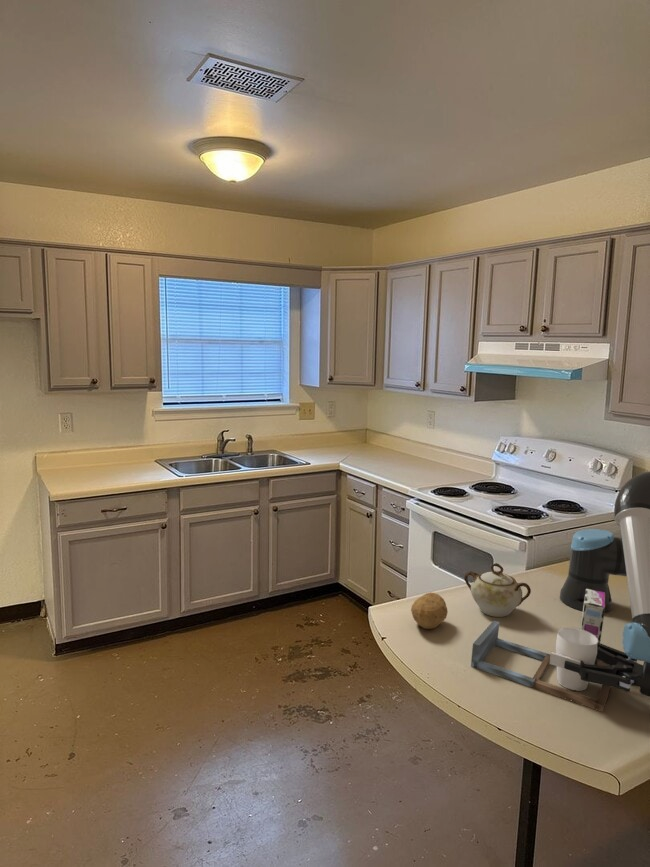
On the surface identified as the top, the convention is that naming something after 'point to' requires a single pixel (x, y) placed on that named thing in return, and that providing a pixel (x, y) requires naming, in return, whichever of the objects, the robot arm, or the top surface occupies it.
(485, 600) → the sugar bowl
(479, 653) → the bay frame
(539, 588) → the top surface
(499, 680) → the top surface
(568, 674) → the cup
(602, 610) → the candy bar box
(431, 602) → the potato
